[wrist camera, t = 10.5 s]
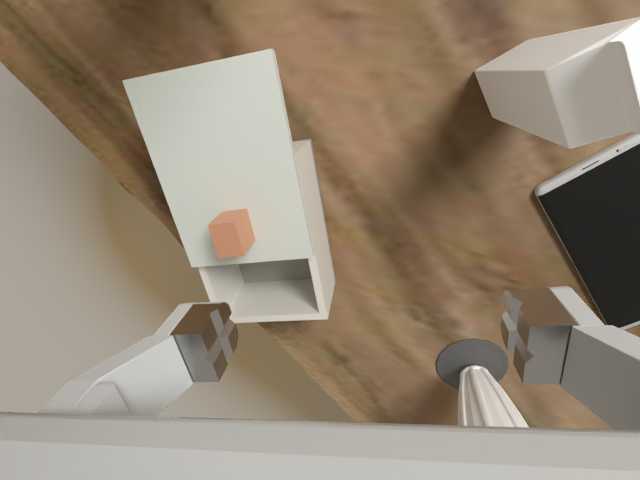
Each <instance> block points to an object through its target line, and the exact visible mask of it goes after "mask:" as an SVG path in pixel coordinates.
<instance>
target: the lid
mask: <svg viewBox="0 0 640 480" xmlns="http://www.w3.org/2000/svg"><path fill="white" fill-rule="evenodd" d="M122 82H123V84H124V87H125V90H126V92H127V95H128V98H129V100H130V103H131V106H132V108H133V111H134V114H135V116H136V119H137V122H138V125H139V127H140V130H141V133H142V135H143V138H144V141H145V143H146V146H147V149H148V151H149V154H150V157H151V160H152V162H153V165H154V168H155V170H156V173H157V176H158V178H159V181H160V184H161V186H162V189H163V192H164V195H165V197H166V200H167V203H168V205H169V208H170V211H171V213H172V216H173V219H174V221H175V224H176V227H177V230H178V232H179V235H180V238H181V240H182V243H183V246H184V248H185V251H186V253H187V256H188V259H189V262H190V264H191V267H205V266H217V265H230V264H242V263H255V262H267V261H280V260H292V259H305V258H313V257H314V254H315V253H314V248H313V243H312V238H311V233H310V228H309V223H308V218H307V213H306V208H305V203H304V198H303V193H302V188H301V183H300V178H299V173H298V168H297V162H296V157H295V152H294V147H293V142H292V137H291V132H290V127H289V122H288V117H287V112H286V107H285V102H284V97H283V92H282V87H281V82H280V77H279V71H278V66H277V61H276V56H275V51H274V49H268V50H263V51H258V52H253V53H249V54H244V55H239V56H235V57H230V58H225V59H221V60H216V61H211V62H207V63H202V64H197V65H192V66H188V67H183V68H178V69H174V70H169V71H164V72H160V73H155V74H150V75H146V76H141V77H136V78H131V79H127V80H122Z"/></svg>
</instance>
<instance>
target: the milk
mask: <svg viewBox="0 0 640 480" xmlns="http://www.w3.org/2000/svg"><path fill="white" fill-rule="evenodd" d="M474 73H475V75H476V78H477V80H478V83H479V85H480V88H481V90H482V93H483V95H484V98H485V100H486V103H487V105H488V108H489V110H490V113H491V116H492V117H493V118H495V119H497V120H500V121H502V122H505V123H507V124H510V125H512V126H514V127H517V128H519V129H522V130H524V131H527V132H529V133H532V134H534V135H537V136H539V137H542V138H544V139H547V140H549V141H551V142H554V143H556V144H559V145H561V146H564V147H566V148H569V149H571V148H575V147H579V146H582V145H586V144H590V143H593V142H597V141H601V140H604V139H608V138H611V137H615V136H619V135H622V134H626V133H629V132H633V133H637V134H640V17H637V18H632V19H627V20H622V21H618V22H613V23H608V24H603V25H598V26H593V27H588V28H583V29H579V30H574V31H569V32H564V33H559V34H554V35H549V36H545V37H540V38H535V39H530V40H527V41H525V42H523V43H521V44H520V45H518V46H516V47H514V48H513V49H511V50H509V51H508V52H506V53H504V54H502V55H501V56H499V57H497V58H496V59H494V60H492V61H490V62H489V63H487V64H485V65H483V66H482V67H480V68H478V69H477V70H475V71H474Z"/></svg>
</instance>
